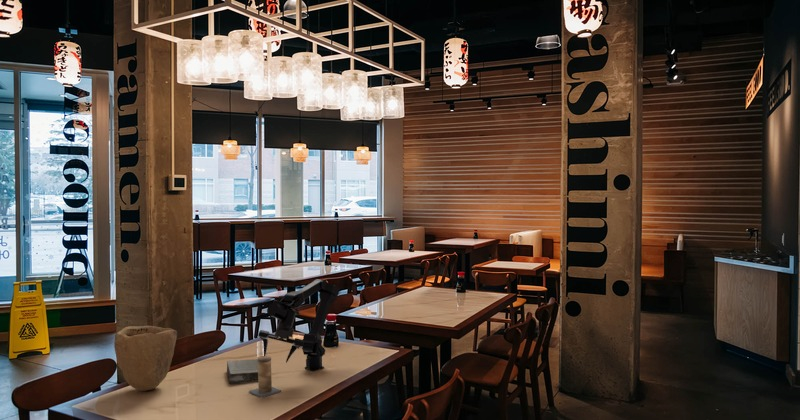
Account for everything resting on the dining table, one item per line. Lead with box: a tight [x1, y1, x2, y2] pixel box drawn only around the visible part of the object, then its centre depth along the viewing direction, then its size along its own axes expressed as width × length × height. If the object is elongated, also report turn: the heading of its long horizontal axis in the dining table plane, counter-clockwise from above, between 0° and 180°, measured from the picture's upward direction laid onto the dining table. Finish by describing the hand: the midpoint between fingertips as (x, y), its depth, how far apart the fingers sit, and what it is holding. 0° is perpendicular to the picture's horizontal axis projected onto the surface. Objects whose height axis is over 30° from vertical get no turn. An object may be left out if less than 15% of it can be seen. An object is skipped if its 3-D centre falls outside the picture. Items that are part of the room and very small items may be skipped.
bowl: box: [113, 325, 178, 392], centre depth 215 cm, size 22×22×25 cm
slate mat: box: [248, 386, 282, 399], centre depth 211 cm, size 9×9×1 cm
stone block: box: [226, 358, 258, 385], centre depth 232 cm, size 14×20×5 cm
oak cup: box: [257, 355, 273, 393], centre depth 211 cm, size 5×5×13 cm
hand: (275, 359), depth 220 cm, fingers open, 9 cm apart
